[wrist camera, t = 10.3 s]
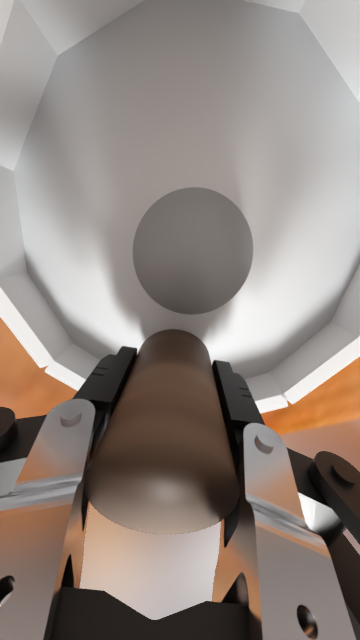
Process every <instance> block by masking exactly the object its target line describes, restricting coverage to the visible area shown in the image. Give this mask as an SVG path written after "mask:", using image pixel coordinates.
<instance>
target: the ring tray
mask: <svg viewBox="0 0 360 640" xmlns="http://www.w3.org/2000/svg"><path fill="white" fill-rule="evenodd" d="M0 317H1V318H2V320H3V321H4V322H5V323H6V325H7V326H8V327H9V329H10V330H11V331H12V332H13V334H14V335H15V336H16V338H17V339H18V340H19V341H20V343H21V344H22V345H23V347H24V348H25V349H26V351H27V352H28V353H29V354H30V356H31V357H32V358H33V360H34V361H35V362H36V363H37V365H38V366H39V367H40V368H42V367H45V366H48V367H47V368H46V370H45V372H46V373H47V374H49V375H51V376H53V377H54V378H56V379H58V380H60V381H61V382H63V383H65V384H67V385H68V386H70V387H72V388H74V389H75V390H77V391H78V390H79V389H80V388H81V386H82V385H83V383H84V382H85V381H86V379H87V378H88V376H89V375H90V374H91V372H92V371H93V370H94V368H95V367H96V365H97V364H98V363H99V361H100V360H101V359H102V358H104V357H106V356H107V355H109V354H112V355H117V353H118V351H119V350H120V348H121V347H122V346H127V347H134V348H137V354H138V352H139V349H140V347H141V345H142V344H143V343H144V341H145V340H146V339H147V338H148V337H150V336H151V335H153V334H155V333H157V332H159V331H163V330H168V329H177V330H183V331H186V332H189V333H191V334H193V335H195V336H196V337H198V338H199V339H200V340H201V341H202V342H203V343H204V344H205V346H206V347H207V350H208V352H209V356H210V360H211V364H212V363H213V361H214V360H219V361H226V362H229V363H230V365H231V368H232V370H233V373H239V374H240V376H241V377H242V378H243V379H244V380H245V381H246V383H247V385H248V387H249V391H250V392H251V394H252V398H253V399H254V401H255V403H256V405H257V408H258V410H259V412H260V413H264V412H268V411H272V410H276V409H280V408H284V407H288V404H287V400H288V401H289V402H290V403H292V404H294V403H295V402H297V401H298V400H300V399H301V398H302V397H304V396H305V395H307V394H308V393H309V392H311V391H312V390H313V389H315V388H316V387H318V386H319V385H320V384H322V383H323V382H325V381H326V380H327V379H329V378H330V377H332V376H333V375H334V374H336V373H337V372H339V371H340V370H341V369H343V368H344V367H346V366H347V365H348V364H350V363H351V362H353V361H354V360H355V359H357V358H358V357H360V0H0Z"/></svg>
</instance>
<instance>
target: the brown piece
mask: <svg viewBox="0 0 360 640" xmlns="http://www.w3.org/2000/svg"><path fill="white" fill-rule="evenodd" d="M84 488H85V493H86V496H87V498H88V500H89V501H90V503H91V504H92V506H93V507H94V508H95V509H96V510H97V511H98V512H99V513H100V514H102V515H103V516H105V517H106V518H107V519H109V520H111V521H113V522H115V523H117V524H119V525H121V526H124V527H127V528H129V529H133V530H136V531H141V532H146V533H153V534H183V533H190V532H195V531H199V530H202V529H205V528H208V527H210V526H212V525H215V524H217V523H218V522H220V521H222V520H223V519H224V517H227V516H228V515H229V514H230V513H231V512H232V511H233V510H234V508H235V506H236V505H237V502H238V499H239V493H240V492H239V484H238V480H237V475H236V471H235V466H234V462H233V458H232V453H231V449H230V444H229V440H228V435H227V431H226V427H225V422H224V418H223V413H222V409H221V404H220V400H219V396H218V391H217V387H216V382H215V378H214V373H213V369H212V364H211V360H210V356H209V352H208V350H207V347H206V346H205V344H204V343H203V342H202V341H201V340H200V339H199V338H198V337H196V336H195V335H193V334H191V333H189V332H186V331H183V330H177V329H168V330H163V331H159V332H157V333H155V334H153V335H151V336H150V337H148V338H147V339H146V340H145V341H144V343H143V344H142V345H141V347H140V349H139V352H138V354H137V356H136V359H135V361H134V364H133V366H132V368H131V371H130V373H129V375H128V378H127V380H126V382H125V385H124V387H123V389H122V392H121V394H120V396H119V399H118V401H117V403H116V406H115V408H114V411H113V413H112V415H111V417H110V420H109V422H108V424H107V427H106V429H105V432H104V434H103V436H102V439H101V441H100V443H99V446H98V448H97V450H96V453H95V455H94V457H93V460H92V462H91V464H90V467H89V469H88V471H87V474H86V477H85V482H84Z"/></svg>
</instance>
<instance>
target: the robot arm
mask: <svg viewBox="0 0 360 640" xmlns="http://www.w3.org/2000/svg"><path fill="white" fill-rule="evenodd" d="M136 356H137V348H134V347H127V346H122V347H121V348H120V350H119V351H118V353H117V355H112V354H109V355H107V356H106V357H104V358H102V359H101V360H100V361H99V363H98V364H97V365H96V367H95V368H94V370H93V371H92V372H91V374H90V375H89V376H88V378H87V379H86V381H85V382H84V383H83V385H82V386H81V388H80V389H79V390H78V392H77V393H76V394H75V396H74V397H73V399H71V400H67V401H65V402H62V403H60V404H59V405H57V406H56V407H54V408H53V409H52V410H51V411H50V412H49V413H48V414H47V415H43V416H37V417H29V418H22V419H16V418H15V414H14V412H13V411H12V410H11V409H9V408H5V407H0V605H1V607H0V640H360V555H359V554H358V553H357V551H356V550H355V549H354V547H353V546H352V545H351V544H350V542H349V541H348V539H347V538H346V537H345V536H344V534H343V532H344V531H345V530H346V529H348V530H349V531H350V533H351V534H352V535H353V536H354V538H355V539H356V540H357V542H358V543H359V544H360V472H359V471H358V470H357V469H356V468H355V467H353V466H352V465H351V464H350V463H349V462H347V461H346V460H344V459H343V458H341V457H339V456H337V455H336V454H333V453H331V452H327V451H322V452H319V453H317V454H316V456H315V457H314V459H311V458H309V457H307V456H304V455H302V454H300V453H297V452H295V451H293V450H291V449H289V448H287V447H286V445H285V444H284V442H283V440H282V439H281V437H280V436H279V435H278V434H277V433H276V432H275V431H273V430H272V429H271V428H269V427H267V426H265V423H264V421H263V419H262V417H261V414H260V412H259V410H258V408H257V405H256V403H255V401H254V399H253V398H252V394H251V392H250V391H249V387H248V385H247V383H246V381H245V380H244V379H243V378H242V377H241V376H240V374H239V373H233V370H232V368H231V365H230V363H229V362H226V361H219V360H214V361H213V363H212V369H213V373H214V378H215V382H216V387H217V391H218V396H219V400H220V404H221V409H222V413H223V418H224V422H225V427H226V431H227V435H228V440H229V444H230V449H231V453H232V458H233V462H234V466H235V471H236V475H237V480H238V484H239V492H240V493H239V499H238V502H237V505H236V506H235V508H234V510H233V511H232V512H231V513H230V514H229V515H228V516H227V517H224V519H223V520H222V521H221V529H220V546H219V555H218V561H217V565H216V570H215V576H214V583H213V593H212V602H210V601H205V602H203V603H200V604H198V605H195V606H192V607H190V608H188V609H185V610H182V611H180V612H177V613H174V614H172V615H169V616H167V617H164V618H162V619H159V620H151V619H149V618H147V617H145V616H143V615H142V614H140V613H139V612H137V611H135V610H134V609H132V608H131V607H129V606H127V605H126V604H124V603H122V602H121V601H119V600H118V599H116V598H115V597H113V596H111V595H110V594H108V593H106V592H105V591H100V590H99V591H98V590H90V589H79V588H80V581H81V573H82V564H83V555H84V542H85V534H86V527H87V520H88V514H89V506H90V501H89V500H88V498H87V496H86V493H85V488H84V482H85V477H86V474H87V471H88V469H89V467H90V464H91V462H92V460H93V457H94V455H95V453H96V450H97V448H98V446H99V443H100V441H101V439H102V436H103V434H104V432H105V429H106V427H107V424H108V422H109V420H110V417H111V415H112V413H113V411H114V408H115V406H116V403H117V401H118V399H119V396H120V394H121V392H122V389H123V387H124V385H125V382H126V380H127V378H128V375H129V373H130V371H131V368H132V366H133V364H134V361H135V359H136Z"/></svg>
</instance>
